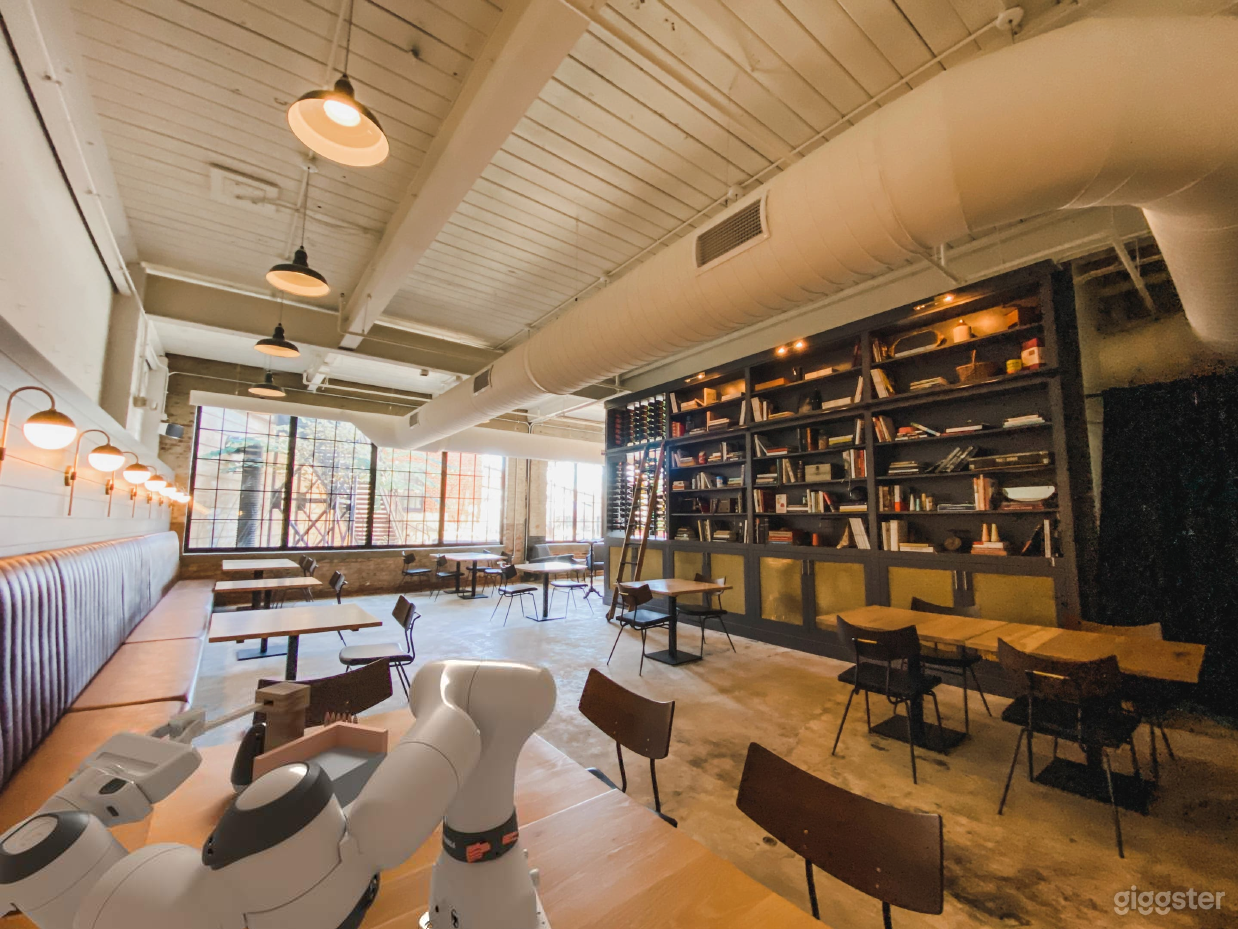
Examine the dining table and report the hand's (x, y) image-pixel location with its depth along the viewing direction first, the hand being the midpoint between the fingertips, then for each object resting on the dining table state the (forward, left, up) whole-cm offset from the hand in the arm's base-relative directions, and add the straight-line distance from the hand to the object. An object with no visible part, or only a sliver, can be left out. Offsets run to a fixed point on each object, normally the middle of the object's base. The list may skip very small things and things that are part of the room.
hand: (190, 720), depth 90 cm
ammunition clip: (+39, -29, -28) cm, 56 cm away
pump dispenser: (+33, -11, -28) cm, 45 cm away
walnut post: (+10, -14, -28) cm, 33 cm away
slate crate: (-4, -21, -28) cm, 35 cm away
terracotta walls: (-4, -21, -12) cm, 24 cm away
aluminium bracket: (+3, -4, -2) cm, 6 cm away
